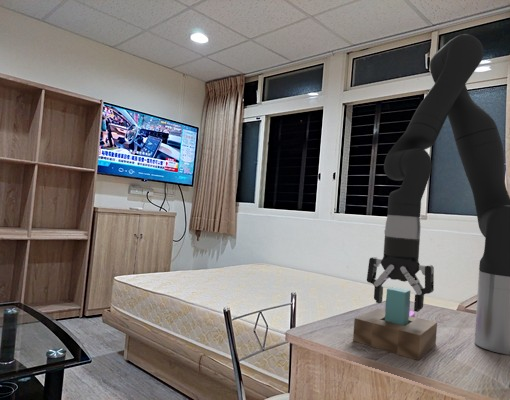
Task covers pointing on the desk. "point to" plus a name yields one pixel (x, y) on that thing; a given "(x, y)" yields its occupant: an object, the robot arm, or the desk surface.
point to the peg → (397, 306)
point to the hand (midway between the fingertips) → (397, 306)
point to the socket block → (395, 334)
